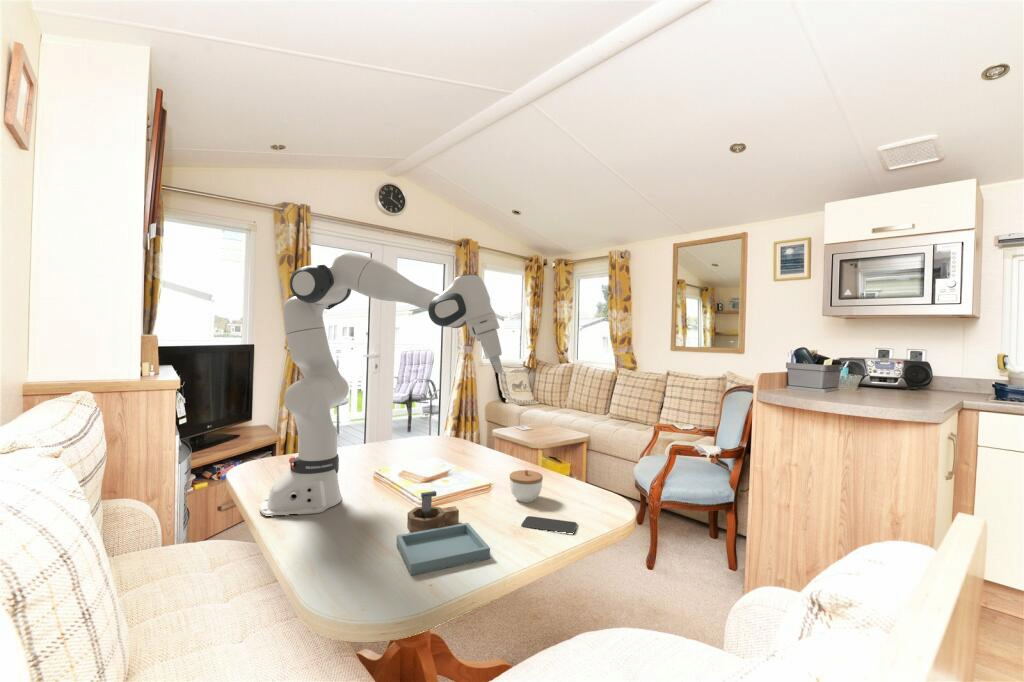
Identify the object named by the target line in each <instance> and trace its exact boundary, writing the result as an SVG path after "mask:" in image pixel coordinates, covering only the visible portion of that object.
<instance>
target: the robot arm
mask: <svg viewBox="0 0 1024 682" xmlns="http://www.w3.org/2000/svg"><path fill="white" fill-rule="evenodd" d="M289 289H290V291H291V293H292V295H293V296H292V297H290V298H288V299H287V300H286V301H285V302H284V304H283V324H284V332H285V336H286V341H287V345H288V346H287V347H288V350H289V355H290V359H291V362H293V364H295V365H296V366H297V367H298V369H299V371H300V372H301V374H302V375H303V378H301V379H298V380H296V381H295V382H293V383H291V385H289V386H288V387H287V388H286V390H285V392H284V394H283V401H284V405H285V408H286V409H287V410H288V411H289V412H290V413H291V414H292V415H293V419H294V422H295V425H296V430H297V456H294V455H292V456H290V457H289V458H288V463H289V465H290V467H289V469H290V470H289V471H287V472H286V473H285V474H284V475H283V476H281V477H280V478H278V480H276V481H275V482H274V483H273V484H272V486H271V488H270V490H269V494H268V497H266V498H265V499H264V500H263V501H261V503H260V505H259V512H260V511H261V513H262V514H264V515H285V516H290V515H289V514H298V515H310V514H321V513H323V512H325V511H326V510H327V509H329V508H332V507H334V506H336V505H338V504H339V503H340V502H342V499H343V497H342V494H341V490H340V484H339V476H338V475H339V469H340V467H339V466H340V457H339V454H338V429H337V427H336V426H335V425H334V423H333V420H332V414H331V409H332V408H334V407H337V406H338V405H340V404H341V403H342V402H343V401H344V400H345V399H346V398H347V396H348V395H349V392H350V391H349V390H350V389H349V388H350V387H349V383H348V381H347V380H346V379H345V378H344V377H343V376H342V375H341V372H340V371H339V369H338V367H337V365H336V363H335V360H334V358H333V356H332V353H331V350H330V345H329V341H328V337H327V333H326V331H327V330H326V328H325V323H324V317H323V313H324V311H325V310H331V309H333V308H334V307H336V306H338V305H340V304H342V303H344V302H345V301H346V300H348V298H349V297H350V295H351V293H352V291H355V292H357V293H358V294H361V295H364V296H366V297H368V298H371V299H376V300H380V301H385V302H397V303H404V304H409V305H413V306H415V307H417V308H419V309H422V310H424V311H427V312H428V313H427V314H428V316H429V318H430V320H431V322H432V323H433V324H435V325H437V326H439V327H443V328H444V327H445V328H453V329H458V328H459V329H460V328H463V327H464V326H466V325H467V329H468V332H469V334H470V337H471V338H475V339H476V342H480V343H481V347H482V350H483V353H484V356H485V359H488V360H489V362H490V365H491V368H492V369H493V371H494V373H497V374H501V373H504V369H503V367H502V362H501V361H502V360H501V358H500V356H501V355H502V346H501V342H500V338H499V335H498V331H497V330H499V329H500V325H499V321H498V317H497V315H496V313H495V310H494V309H493V307H492V305H491V304H492V303H491V297H490V295H489V292H488V291H489V290H488V289H487V286H486V284H485V282H484V280H483V279H482V277H481V276H479V275H477V274H473V273H468V274H461V275H458V276H456V277H455V278H454V279H453V281H452V282H451V284H450V285H449V286H448V287H446V289H445V290H444V291H442V292H440V294H439V293H437V292H435V291H432V290H430V289H428V288H425V287H422V286H420V285H418V284H416V283H414V282H413V281H411V280H410V279H408V278H407V277H405V276H404V275H403V274H401V273H399V272H398V271H397V270H395V269H394V268H392V267H390V266H388V265H387V264H386V263H383V262H381V261H380V260H377V259H375V258H372V257H369V256H367V255H363V254H360V253H356V252H352V251H351V252H350V251H344V252H341V253H339V254H338V255H337V256H336V257H335V259H334V260H333V262H332V264H331V265H330V266H327V265H325V264H321V263H320V264H315V265H306V266H303V267H300V268H297V269H295V270H294V271H293V273H292V274H291V276H290V278H289ZM261 513H260V514H261ZM262 514H261V515H262ZM287 514H288V515H287Z"/></svg>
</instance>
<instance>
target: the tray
mask: <svg viewBox="0 0 1024 682" xmlns="http://www.w3.org/2000/svg"><path fill="white" fill-rule="evenodd" d="M395 543H396V545H397V546H396V548H397V549H398V552H399V553H400V556H401V559H402V560H403V562H404V565H405V567H406V569H407V570H408V572H409V575H410V576H416V575H420V574H424V573H429V571H430V572H435V571H439V570H443V568H444V569H447V568H446V567H448V568H451V566H453V567H456V566H455V565H457V566H461V565H460V564H462V565H465V564H464V563H466V564H470V563H469V562H471V563H474V561H475V562H479V561H483V560H488V559H491V546H489V545H488V544H487V543H486V542H485V541H484V539H483V538H482V537H481V536H480V535H479V534H478V533H477V531H476V530H475V529H474V528H473V527H472V526H471V524H470V523H469V522H465V523H459V524H457V525H451V526H445V527H442V528H436V529H430V530H425V531H419V532H413V533H410V532H409V533H403V534H398V535H397V534H396V542H395ZM438 569H439V570H438Z"/></svg>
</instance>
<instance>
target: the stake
mask: <svg viewBox="0 0 1024 682" xmlns="http://www.w3.org/2000/svg"><path fill="white" fill-rule="evenodd" d="M435 497H437V491H436V490H432V491H425V492H421V493H420V498H421V507H422V518H423V519H427V518H431V506H432V502H433V501H432V498H435Z"/></svg>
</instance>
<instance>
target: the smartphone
mask: <svg viewBox="0 0 1024 682" xmlns="http://www.w3.org/2000/svg"><path fill="white" fill-rule="evenodd" d="M576 526H577V527H578V523H577V522H576V521H570V520H569V521H568V520H561V519H554V518H546V517H540V516H530V515H527V516H526V517H525V519H524V520H523V522H522V523H521V526H520V527H522V528H525V529H530V530H531V529H532V530H537V529H538V531H543V530H547V531H546V532H549V531H557V532H566V533H573V532H574V531H575V532H576V530H575V528H576ZM576 529H577V528H576Z"/></svg>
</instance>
